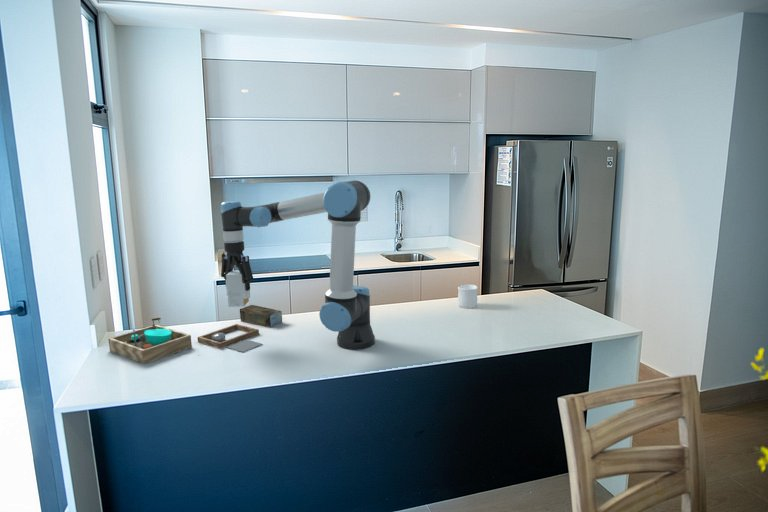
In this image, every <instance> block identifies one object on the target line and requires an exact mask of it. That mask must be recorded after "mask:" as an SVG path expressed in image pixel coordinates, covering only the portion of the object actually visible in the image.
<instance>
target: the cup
mask: <svg viewBox="0 0 768 512" xmlns="http://www.w3.org/2000/svg"><path fill="white" fill-rule="evenodd" d="M457 289H458V293H457V305H458V307H459V308H461V309H475V308H477V306H478V289H479V288H478V286H477V285H475V284H469V283H468V284H461V285H459V286H457Z"/></svg>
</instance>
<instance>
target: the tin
mask: <svg viewBox="0 0 768 512" xmlns="http://www.w3.org/2000/svg"><path fill="white" fill-rule="evenodd" d="M211 340H213V341H217V342H223V341H226V340H227V339H226V333H215V334H213V335H212V338H211Z"/></svg>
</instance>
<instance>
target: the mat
mask: <svg viewBox="0 0 768 512" xmlns="http://www.w3.org/2000/svg"><path fill="white" fill-rule="evenodd" d="M262 345H263V343H261V342H257V341H254V340H250V339H248V338H247V339H244V340H242V341H239V342H237V343H234V344H231V345H229V346H226V347H225V348H227V349H230V350H233V351H236V352H239V353H242V354H244V353H245V352H248V351H251V350H254V349H256V348H258V347H260V346H262Z"/></svg>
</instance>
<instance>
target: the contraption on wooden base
mask: <svg viewBox="0 0 768 512" xmlns="http://www.w3.org/2000/svg"><path fill="white" fill-rule="evenodd" d="M160 320H161V317H157V318H155V317H154V318H152V319H151V322H152V326H155V325H156V324H155V322H154V321H158V323H159V324H160V323H161V321H160ZM132 331H133V334H134V335H132V336H131V340H130V339H129V340H128V342H129V344H130V345H133V346H136V347H138V348H141V349H147V348H150V347H153V346H156V345H159V344H162V343H165V342H168V341H171V340H170V338H171V334H172V332H171V331H170V330H168V329H153V330H146V331H145V332H144V334H142V335H140V336H138V335H135V331H136V329H135V328H134V329H132ZM143 337H145V338H146V340H145V341H146V343H145V342H143V341H142V338H143ZM125 343H126V342H125Z"/></svg>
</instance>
